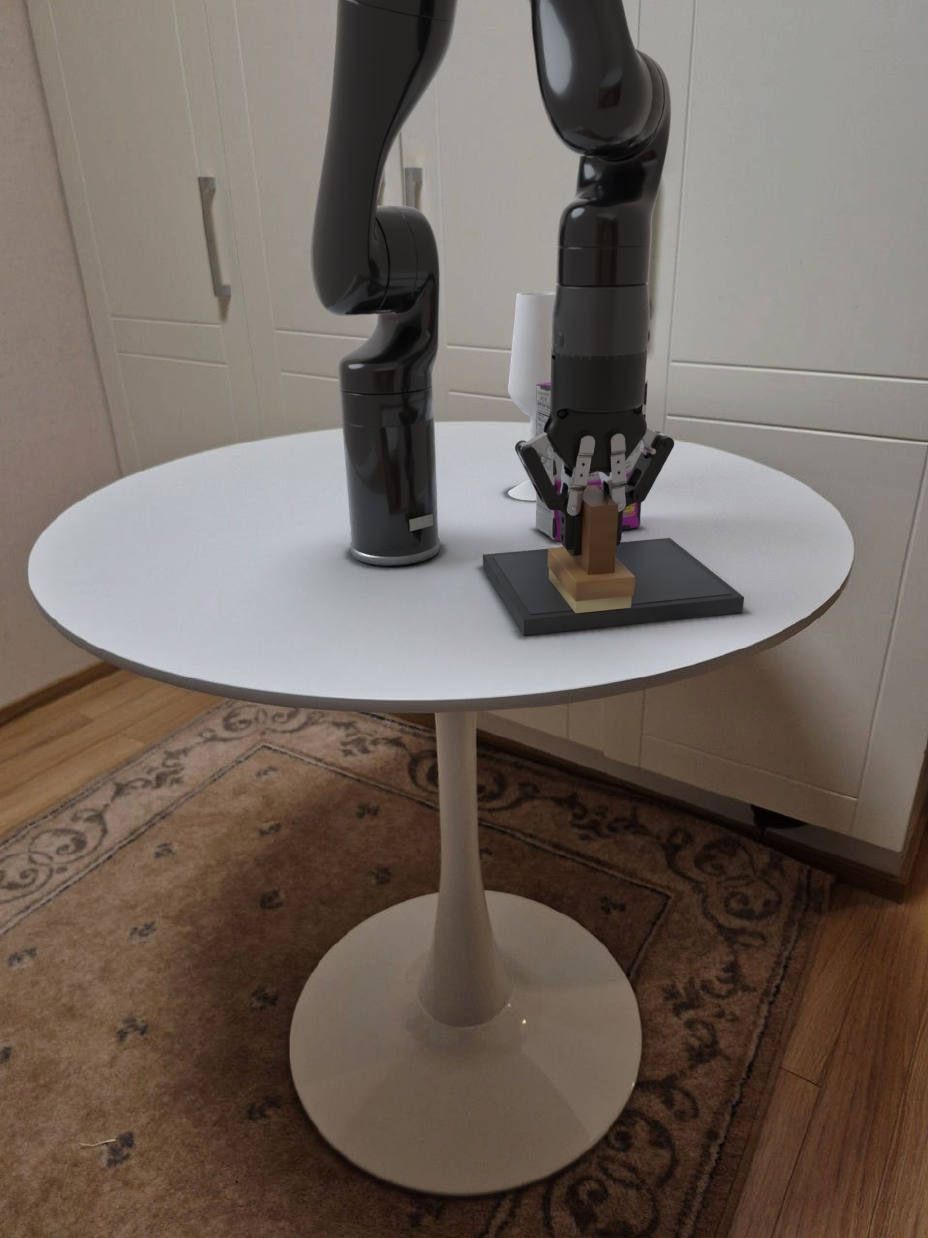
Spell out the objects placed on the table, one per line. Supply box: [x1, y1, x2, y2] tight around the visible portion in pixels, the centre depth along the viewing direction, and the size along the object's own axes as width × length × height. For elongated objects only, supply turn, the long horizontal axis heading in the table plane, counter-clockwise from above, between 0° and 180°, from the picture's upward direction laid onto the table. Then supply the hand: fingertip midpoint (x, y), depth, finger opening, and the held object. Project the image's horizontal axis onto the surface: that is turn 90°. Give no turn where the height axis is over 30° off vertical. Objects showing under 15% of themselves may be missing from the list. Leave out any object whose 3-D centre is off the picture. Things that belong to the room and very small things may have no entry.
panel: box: [482, 537, 745, 637], centre depth 81 cm, size 16×20×2 cm
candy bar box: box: [535, 378, 649, 542], centre depth 94 cm, size 11×5×16 cm, turn 112°
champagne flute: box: [507, 291, 556, 502], centre depth 105 cm, size 7×7×24 cm
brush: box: [547, 485, 635, 613], centre depth 75 cm, size 8×5×9 cm, turn 11°
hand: (589, 550), depth 75 cm, fingers closed on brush, 2 cm apart
